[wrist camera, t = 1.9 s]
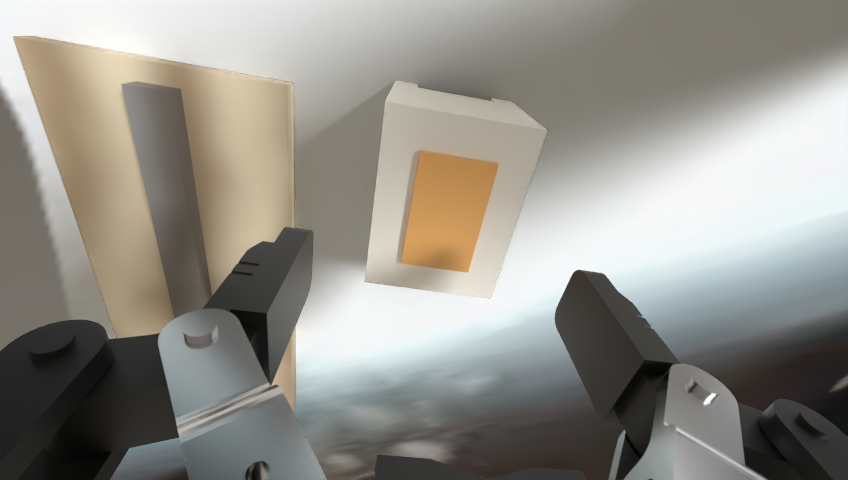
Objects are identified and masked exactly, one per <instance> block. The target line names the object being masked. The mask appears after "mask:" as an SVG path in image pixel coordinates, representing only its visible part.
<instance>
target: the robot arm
mask: <svg viewBox="0 0 848 480" xmlns="http://www.w3.org/2000/svg"><path fill="white" fill-rule="evenodd" d="M312 256H313V232H312V231H311V230H305V229H298V228H291V227H284V228H283V230H282V231H281V233H280V234H279V236H278V237H277V239H276V240H275V242H266V241H262V242H260V243H258V244H257V245H255V246H253V247H251V248H250V249H248V250H247V251H246V252H245V254H244V255H243V256H242V258H241V259H240V260H239V263H238V264H236V266H235V267H234V268H233V269H232V271H231V273H229V275H228V276H227V277H226V279H225V280H224V281H223V283H222V284H221V285H220V286H219V288H218V289H217V290H216V292H215V293H214V294H213V296H212V297H211V298H210V300H209V301H208V302H207V303H206V305H205V306H204V307H203V309H199V310H195V311H191V312H188V313H185V314H183V315H181V316H179V317H177V318H175V319H174V320H172V321H171V322H169V323H168V324H167V325H166V326H165V327H164V328H163V330H162V331H161V333H158V334H151V335H143V336H135V337H126V338H117V339H108V336H107V333H106V330H105V329H104V327H102V326H101V325H100V324H98V323H96V322H93V321H88V320H67V321H62V322H57V323H52V324H49V325H46V326H43V327H39V328H37V329H35V330H32V331H30V332H28V333H26V334H24V335H22V336H20V337H19V338H17V339H15V340H14V341H13V342H11V343H10V344H8V345H7V346H6V347H5V348H4V349H2V350H1V351H0V480H110V478H111V477H112V475H113V474H114V472H115V470H116V469H117V467H118V465H119V464H120V462H121V461H122V459H123V457H124V456H125V454H126V452H127V451H128V449H129V448H131V447H136V446H141V445H146V444H150V443H155V442H160V441H164V440H169V439H174V438H179V439H180V443H181V447H182V452H183V456H184V460H185V464H186V469H187V473H188V477H189V480H327V479H326V477H325V475H324V473H323V471H322V469H321V467H320V465H319V463H318V460H317V458H316V456H315V454H314V452H313V450H312V448H311V446H310V444H309V442H308V440H307V438H306V436H305V434H304V432H303V430H302V428H301V426H300V424H299V422H298V420H297V418H296V416H295V414H294V412H293V410H292V408H291V406H290V404H289V402H288V400H287V398H286V396H285V394H284V392H283V391H282V389H281V388H280V387H279V386H278V385H273V386H271V385H272V383H273V380H274V378H275V375H276V373H277V370H278V368H279V365H280V363H281V360H282V358H283V355H284V353H285V351H286V348H287V346H288V343H289V341H290V338H291V336H292V333H293V331H294V328H295V326H296V323H297V321H298V318H299V316H300V313H301V311H302V309H303V306H304V304H305V301H306V299H307V296H308V293H309V290H310V285H311V278H312ZM555 324H556V327H557V330H558V332H559V334H560V336H561V338H562V340H563V342H564V344H565V346H566V349H567V351H568V353H569V355H570V357H571V359H572V361H573V363H574V365H575V367H576V370H577V372H578V374H579V376H580V378H581V380H582V382H583V384H584V386H585V388H586V390H587V393H588V395H589V397H590V399H591V401H592V403H593V405H594V407H595V409H596V411H597V414H598V416H599V418H600V420H601V422H603V423H614V424H622V426H623V428H624V431H623V432H622V433H621V435H620V436H619V438H618V442H617V446H616V450H615V454H614V459H613V463H612V467H611V471H610V475H609V479H608V480H848V438H847V437H846V436H845V435H844V434H843V433H842V432H841V431H840V430H839V429H838V428H837V427H836V426H835V425H833V424H832V423H831V422H830V421H828V420H827V419H826V418H824V417H823V416H821V415H820V414H818V413H817V412H815V411H813V410H811V409H810V408H808V407H806V406H804V405H802V404H799V403H797V402H794V401H791V400H786V399H778V400H776V401H774V402H773V403H772V404H771V405H770V406H769V407H768V408H767V409H766V410H765V411H764V412H763V411H760V410H757V409H755V408H752V407H749V406H746V405H743V404H741V403H738V402H737V401H736V399H735V397H734V396H733V394H732V393H731V392H730V391H729V390H728V389H727V388H726V387H725V386H724V385H723V384H722V383H721V382H720V381H718V380H717V379H716V378H714V377H713V376H711V375H710V374H708V373H706V372H704V371H703V370H700V369H698V368H696V367H693V366H690V365H686V364H681V363H680V362H679V361H678V359H677V358H676V357H675V356H674V354H673V353H672V352H671V351H670V349H669V348H668V347H667V346H666V344H665V343H664V342H663V341H662V339H661V338H660V337H659V336H658V334H657V333H656V332H655V331H654V329H651V326H650V324H649V323H648V322H647V321H646V319H645V318H642V314H641V313H640V312H639V311H638V309H637V308H636V307H635V306H634V304H633V303H632V302H630V301H629V300H628V299H627V298H625V297H624V296H623V295H622V294H620V293H619V292H618V291H617V290H616V288H615V287H614V286H613V285H612V283H611V282H610V281H609V279H608V278H607V277H606V276H605V275H604V274H603V273H597V272H590V271H583V270H577V271H575V272H574V273H573V275H572V276H571V278H570V281H569V283H568V285H567V287H566V289H565V291H564V293H563V296H562V298H561V300H560V302H559V304H558V306H557V309H556V313H555ZM349 480H586V479H585V476H584V473H583V471H573V470H561V469H548V468H536V467H534V468H530V469H526V470H521V471H517V472H513V473H508V474H504V475H500V476H495V477H491V478H483V477H480V476H477V475H474V474H471V473H468V472H466V471H463V470H460V469H457V468H454V467H452V466H449V465H446V464H443V463H440V462H438V461H435V460H432V459H425V458H412V457H400V456H387V455H377V460H376V465H375V470H374V472H372V473H368V474H363V475H360V476H358V477H355V478H352V479H349Z"/></svg>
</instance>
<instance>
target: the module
mask: <svg viewBox="0 0 848 480" xmlns="http://www.w3.org/2000/svg"><path fill="white" fill-rule="evenodd" d="M547 131H548V130H547V129H545V128H544V127H543V126H542V125H540V124H539V123H538V122H537V121H535V120H534V119H533V118H532V117H530V116H529V115H528V114H527V113H525V112H524V111H523V110H522V109H520V108H519V107H518V106H517V105H515V104H514V103H513V102H511V101H505V100H500V99H495V98H491V100H490V101H488V100H483V99H478V98H472V97H467V96H461V95H456V94H451V93H445V92H440V91H434V90H429V89H424V88H418V84H414V83H409V82H403V81H398V80H396V81H395V83H394V85H393V87H392V89H391V91H390V93H389V95H388V97H387V99H386V101H385V107H384V116H383V125H382V134H381V142H380V151H379V160H378V169H377V178H376V187H375V195H374V204H373V213H372V222H371V231H370V240H369V248H368V257H367V266H366V275H365V282H369V283H376V284H384V285H391V286H398V287H406V288H413V289H421V290H428V291H435V292H443V293H450V294H458V295H465V296H473V297H480V298H487V299H491V297H492V294H493V291H494V288H495V285H496V282H497V279H498V276H499V273H500V270H501V267H502V264H503V261H504V259H505V256H506V253H507V250H508V247H509V244H510V241H511V238H512V235H513V232H514V229H515V226H516V223H517V220H518V217H519V214H520V211H521V208H522V205H523V202H524V199H525V196H526V194H527V191H528V188H529V185H530V182H531V179H532V176H533V173H534V170H535V167H536V164H537V161H538V158H539V155H540V152H541V149H542V146H543V143H544V140H545V137H546V134H547Z"/></svg>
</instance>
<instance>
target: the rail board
mask: <svg viewBox="0 0 848 480" xmlns="http://www.w3.org/2000/svg"><path fill="white" fill-rule="evenodd" d="M13 38H14V41H15V44H16V47H17V50H18V53H19V56H20V59H21V62H22V65H23V67H24V70H25V73H26V76H27V79H28V82H29V85H30V88H31V91H32V94H33V96H34V99H35V102H36V105H37V108H38V111H39V114H40V117H41V120H42V123H43V126H44V128H45V131H46V134H47V137H48V140H49V143H50V146H51V149H52V152H53V155H54V157H55V160H56V163H57V166H58V169H59V172H60V175H61V178H62V181H63V184H64V187H65V189H66V192H67V195H68V198H69V201H70V204H71V207H72V210H73V213H74V216H75V218H76V221H77V224H78V227H79V230H80V233H81V236H82V239H83V242H84V245H85V248H86V250H87V253H88V256H89V259H90V262H91V265H92V268H93V271H94V274H95V277H96V279H97V282H98V285H99V288H100V291H101V294H102V297H103V300H104V303H105V306H106V308H107V311H108V314H109V317H110V320H111V323H112V326H113V329H114V332H115V335H116V338H126V337H135V336H143V335H151V334H158V333H161V331H162V330H163V328H164V327H165V326H166V325H167V324H168V323H169V322H171V321H172V320H174V319H175V318H177V317H179V316H181V315H183V314H185V313H188V312H191V311H195V310H199V309H203V307H204V306H205V305H206V303H207V302H208V301H209V300H210V298H211V297H212V296H213V294H214V293H215V292H216V290H217V289H218V288H219V286H220V285H221V284H222V283H223V281H224V280H225V279H226V277H227V276H228V275H229V273H231V271H232V269H233V268H234V267H235V266H236V264H238V263H239V260H240V259H241V258H242V256H243V255H244V254H245V252H246V251H247V250H248V249H250V248H251V247H253V246H255V245H257V244H258V243H260V242H262V241H266V242H275V240H276V239H277V237H278V236H279V234H280V233H281V231H282V230H283V228H284V227H291V228H295V195H294V83H290V82H285V81H279V80H274V79H268V78H262V77H257V76H251V75H246V74H240V73H235V72H229V71H224V70H218V69H213V68H207V67H202V66H196V65H191V64H185V63H180V62H174V61H168V60H163V59H157V58H152V57H146V56H141V55H135V54H130V53H124V52H119V51H113V50H108V49H102V48H97V47H91V46H86V45H80V44H74V43H69V42H63V41H58V40H52V39H47V38H41V37H36V36H13ZM273 385H278V386H279V387H280V388H281V389H282V391H283V392H284V394H285V396H286V398H287V400H288V402H289V404H290V406H291V408H292V410H293V412H295V409H296V359H295V328H294V331H293V333H292V336H291V338H290V341H289V343H288V346H287V348H286V351H285V353H284V355H283V358H282V360H281V363H280V365H279V368H278V370H277V373H276V375H275V378H274V380H273V383H272V385H271V386H273Z"/></svg>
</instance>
